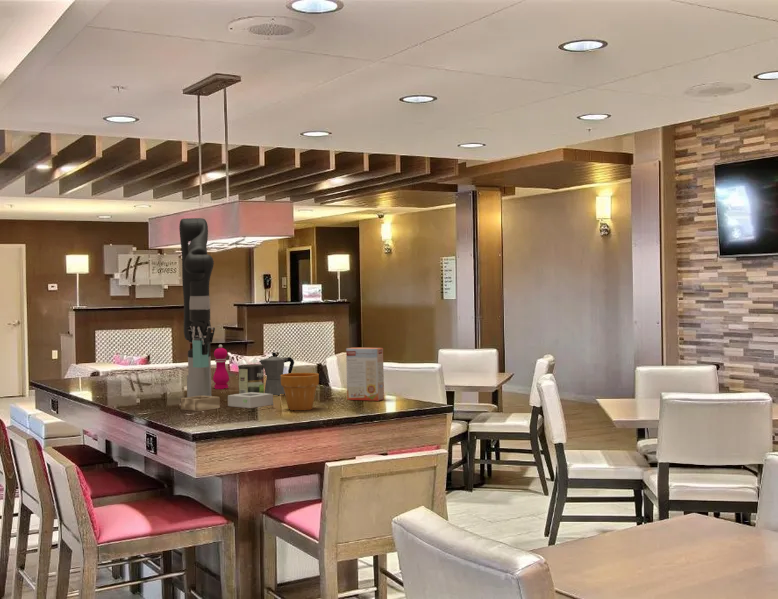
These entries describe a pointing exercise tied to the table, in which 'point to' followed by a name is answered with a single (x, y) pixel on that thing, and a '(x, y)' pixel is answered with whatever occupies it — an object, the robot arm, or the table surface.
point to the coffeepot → (275, 373)
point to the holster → (200, 403)
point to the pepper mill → (220, 369)
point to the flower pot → (300, 389)
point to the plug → (199, 354)
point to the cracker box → (365, 374)
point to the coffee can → (251, 378)
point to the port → (250, 400)
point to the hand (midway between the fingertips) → (200, 354)
